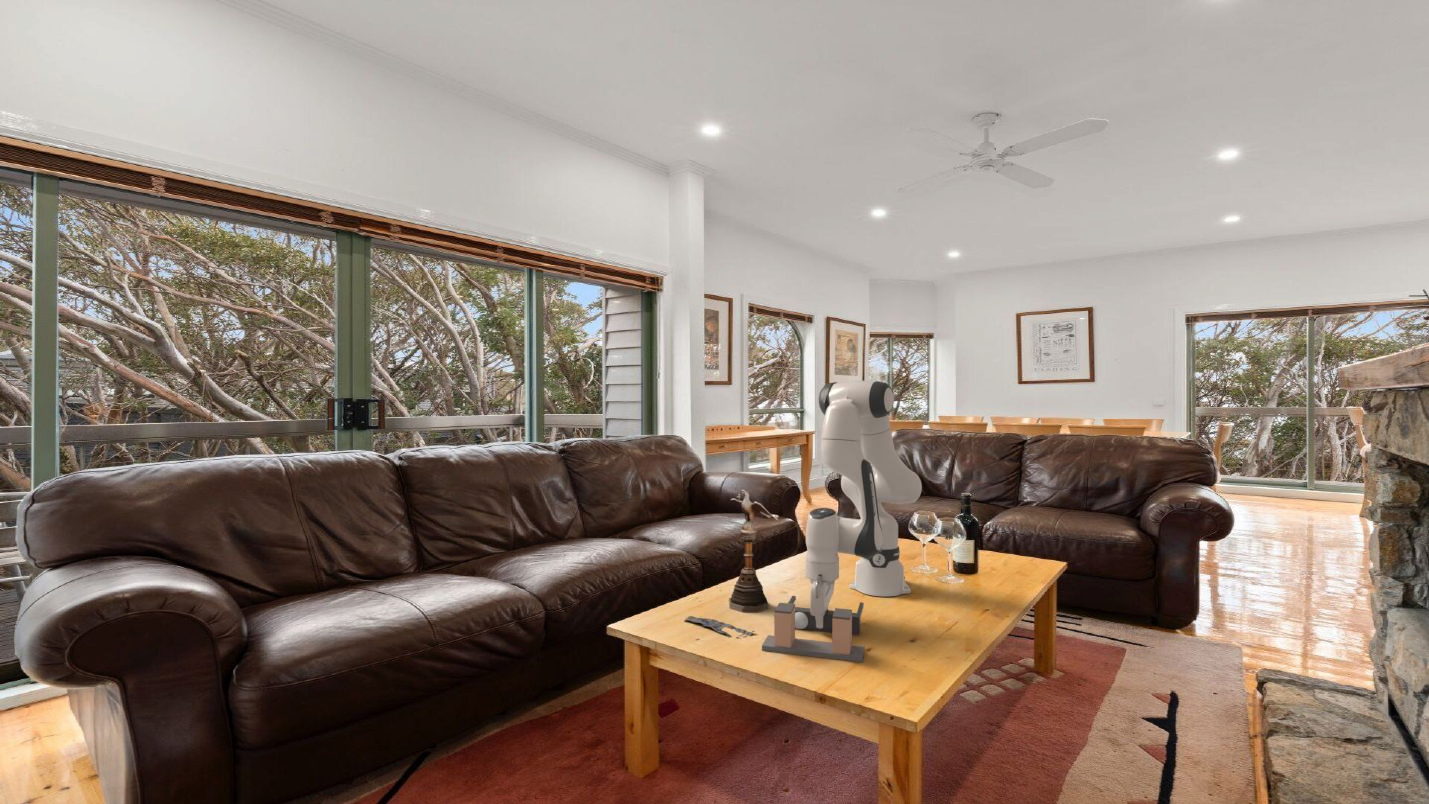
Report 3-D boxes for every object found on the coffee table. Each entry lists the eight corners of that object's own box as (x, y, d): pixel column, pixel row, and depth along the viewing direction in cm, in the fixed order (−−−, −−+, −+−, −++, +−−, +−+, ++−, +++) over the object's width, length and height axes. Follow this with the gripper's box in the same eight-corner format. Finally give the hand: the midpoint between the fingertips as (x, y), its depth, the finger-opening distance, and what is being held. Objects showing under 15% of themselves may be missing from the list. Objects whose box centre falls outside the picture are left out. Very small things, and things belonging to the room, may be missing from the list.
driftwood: (680, 622, 181) (680, 614, 181) (698, 616, 186) (699, 608, 185) (737, 644, 166) (737, 636, 166) (755, 637, 171) (755, 628, 171)
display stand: (768, 639, 167) (768, 600, 166) (864, 651, 159) (864, 610, 159) (761, 650, 160) (761, 609, 160) (862, 662, 153) (862, 620, 153)
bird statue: (751, 592, 206) (751, 480, 205) (785, 601, 197) (785, 485, 196) (716, 605, 193) (716, 486, 192) (750, 615, 185) (751, 491, 184)
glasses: (792, 612, 188) (792, 594, 188) (863, 619, 182) (863, 601, 182) (782, 628, 175) (782, 610, 175) (859, 637, 169) (859, 618, 169)
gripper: (829, 582, 164) (829, 637, 164) (838, 561, 183) (838, 610, 184) (804, 580, 166) (804, 634, 166) (815, 559, 185) (815, 608, 185)
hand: (822, 621), depth 175 cm, fingers open, 7 cm apart
